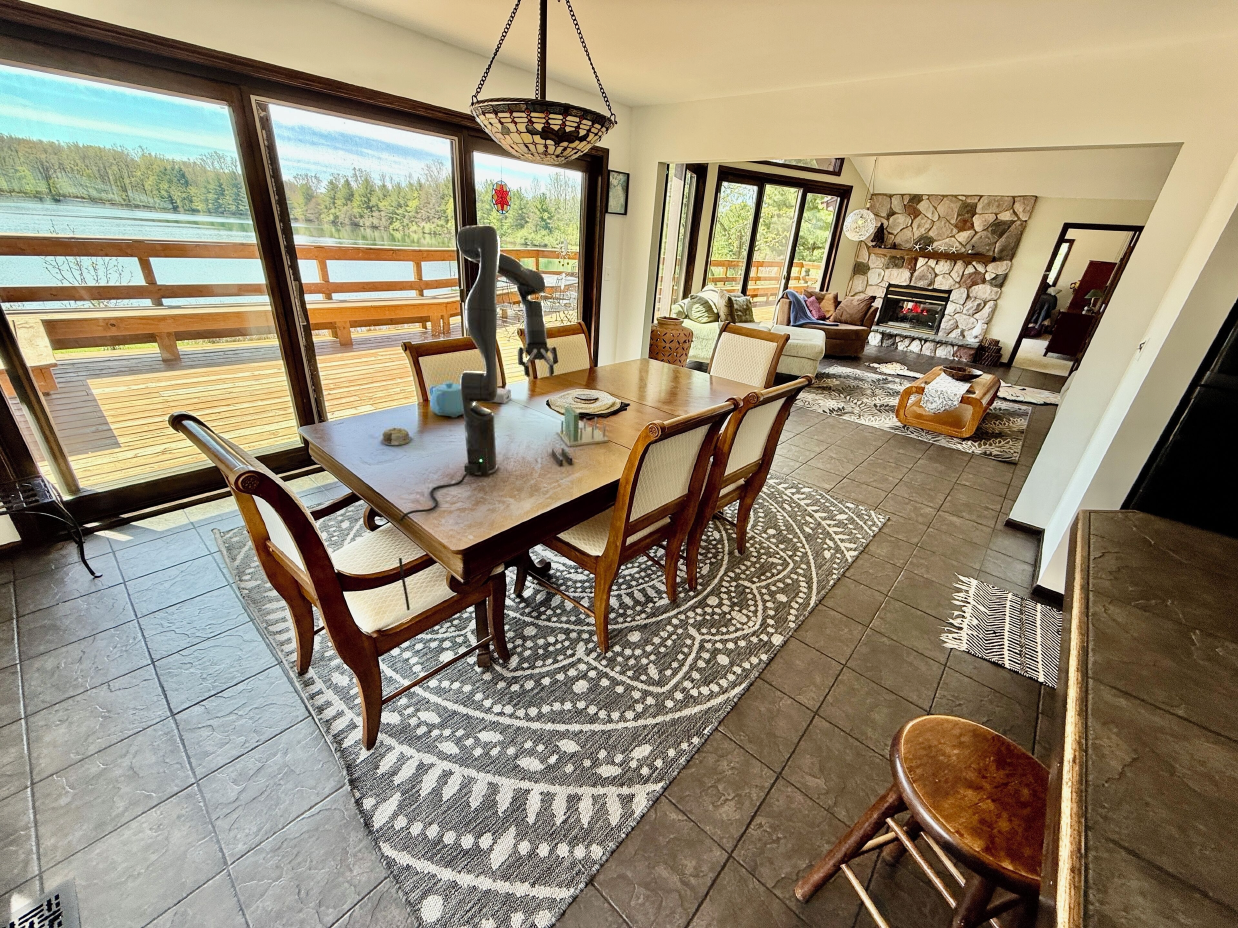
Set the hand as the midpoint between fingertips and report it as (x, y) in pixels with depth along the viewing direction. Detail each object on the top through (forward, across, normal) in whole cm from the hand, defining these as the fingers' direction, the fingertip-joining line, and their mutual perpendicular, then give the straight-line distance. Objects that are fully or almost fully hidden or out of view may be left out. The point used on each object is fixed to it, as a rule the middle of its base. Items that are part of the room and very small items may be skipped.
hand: (539, 376), depth 174 cm
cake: (+19, -50, +25) cm, 59 cm away
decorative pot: (+8, -27, +48) cm, 55 cm away
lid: (+23, +13, +9) cm, 27 cm away
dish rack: (+24, +18, +9) cm, 31 cm away
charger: (+3, -6, +60) cm, 61 cm away
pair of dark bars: (+30, +3, -7) cm, 31 cm away
